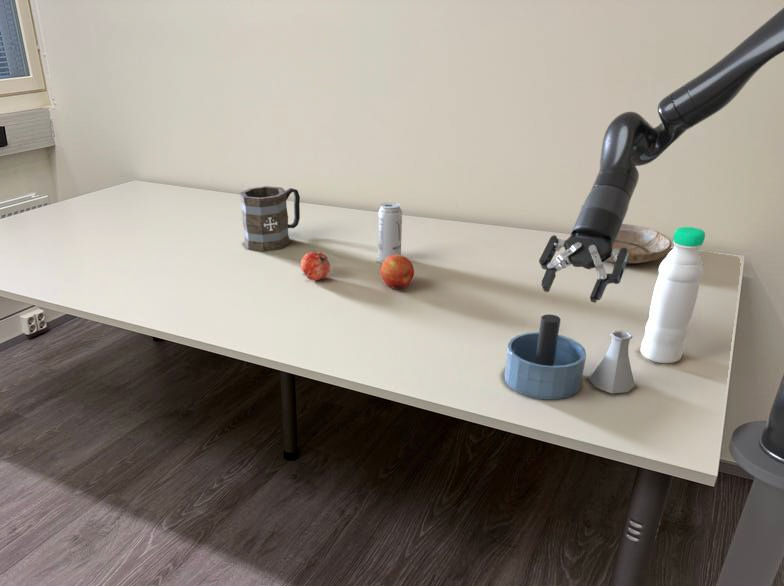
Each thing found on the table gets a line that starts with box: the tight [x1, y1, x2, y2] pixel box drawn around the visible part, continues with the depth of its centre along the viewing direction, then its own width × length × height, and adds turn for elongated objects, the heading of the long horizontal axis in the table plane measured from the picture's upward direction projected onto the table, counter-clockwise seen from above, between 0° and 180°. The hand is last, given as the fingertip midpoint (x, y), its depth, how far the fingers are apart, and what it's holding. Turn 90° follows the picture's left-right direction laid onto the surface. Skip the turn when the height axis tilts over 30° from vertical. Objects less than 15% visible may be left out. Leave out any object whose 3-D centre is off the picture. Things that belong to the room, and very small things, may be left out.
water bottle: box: [640, 226, 706, 364], centre depth 122 cm, size 7×7×25 cm
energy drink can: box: [377, 202, 403, 263], centre depth 175 cm, size 6×6×15 cm
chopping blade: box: [535, 313, 561, 366], centre depth 119 cm, size 8×8×12 cm
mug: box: [239, 185, 301, 252], centre depth 194 cm, size 20×14×15 cm
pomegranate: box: [300, 250, 331, 281], centre depth 168 cm, size 7×7×10 cm
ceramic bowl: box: [604, 223, 672, 264], centre depth 173 cm, size 23×24×5 cm
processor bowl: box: [503, 331, 587, 400], centre depth 120 cm, size 13×13×6 cm
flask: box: [588, 330, 636, 394], centre depth 117 cm, size 7×7×10 cm
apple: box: [379, 254, 415, 290], centre depth 161 cm, size 8×8×8 cm
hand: (568, 295), depth 120 cm, fingers open, 8 cm apart
